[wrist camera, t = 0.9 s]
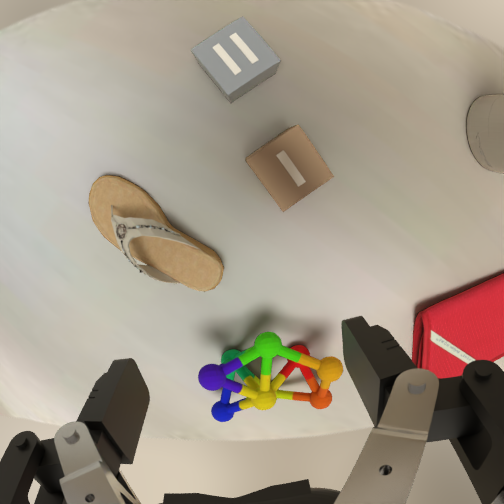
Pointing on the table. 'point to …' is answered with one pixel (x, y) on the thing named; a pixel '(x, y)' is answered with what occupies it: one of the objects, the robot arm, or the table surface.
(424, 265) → the table surface
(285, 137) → the walnut block
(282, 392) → the decorative model
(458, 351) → the dish drying mat
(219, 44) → the slate block
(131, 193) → the sandal
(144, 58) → the table surface
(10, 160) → the table surface
